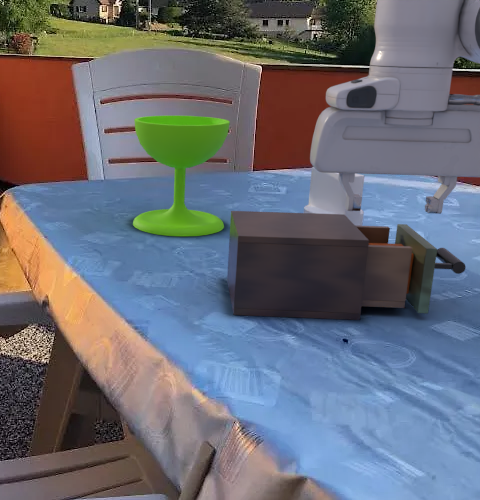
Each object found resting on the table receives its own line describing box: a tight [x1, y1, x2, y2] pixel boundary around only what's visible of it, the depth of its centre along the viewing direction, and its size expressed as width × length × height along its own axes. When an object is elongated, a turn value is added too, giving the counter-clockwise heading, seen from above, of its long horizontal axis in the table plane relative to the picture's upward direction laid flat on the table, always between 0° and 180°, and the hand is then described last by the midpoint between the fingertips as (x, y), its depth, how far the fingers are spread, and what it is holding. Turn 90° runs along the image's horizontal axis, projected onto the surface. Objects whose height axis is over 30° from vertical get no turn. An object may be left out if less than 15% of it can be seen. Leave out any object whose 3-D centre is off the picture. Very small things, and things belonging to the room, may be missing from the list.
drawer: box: [355, 223, 467, 314], centre depth 87 cm, size 18×11×8 cm, turn 86°
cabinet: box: [226, 210, 369, 321], centre depth 87 cm, size 15×13×10 cm
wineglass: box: [132, 115, 231, 237], centre depth 121 cm, size 16×16×18 cm
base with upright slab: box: [303, 166, 366, 226], centre depth 110 cm, size 9×9×12 cm
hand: (392, 211), depth 85 cm, fingers open, 8 cm apart
